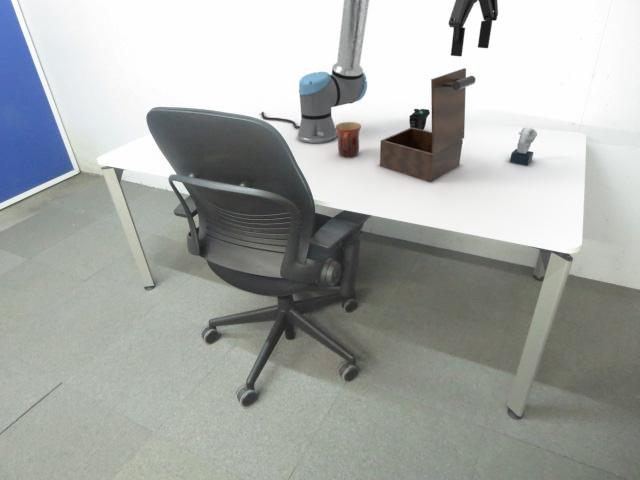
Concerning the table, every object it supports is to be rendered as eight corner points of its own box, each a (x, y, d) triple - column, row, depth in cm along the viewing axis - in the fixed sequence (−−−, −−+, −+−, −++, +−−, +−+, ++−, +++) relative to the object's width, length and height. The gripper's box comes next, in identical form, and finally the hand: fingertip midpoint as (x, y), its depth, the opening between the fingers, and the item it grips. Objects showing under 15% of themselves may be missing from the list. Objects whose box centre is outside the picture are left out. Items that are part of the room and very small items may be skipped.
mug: (338, 149, 156) (337, 121, 150) (362, 150, 154) (362, 122, 148) (332, 162, 146) (331, 133, 140) (358, 163, 144) (358, 133, 138)
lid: (431, 79, 115) (451, 79, 110) (463, 68, 124) (483, 67, 120) (431, 153, 124) (450, 155, 120) (462, 137, 134) (480, 139, 129)
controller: (406, 136, 163) (408, 110, 158) (419, 127, 172) (421, 102, 166) (416, 138, 161) (418, 112, 156) (429, 128, 170) (432, 103, 164)
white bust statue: (533, 159, 140) (541, 126, 134) (525, 167, 134) (533, 133, 129) (515, 155, 143) (522, 123, 137) (507, 163, 138) (514, 130, 132)
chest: (379, 166, 141) (380, 140, 136) (409, 151, 150) (411, 127, 146) (430, 182, 129) (432, 154, 124) (459, 165, 138) (462, 139, 133)
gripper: (470, -45, 91) (457, 61, 103) (522, -48, 105) (505, 45, 117) (439, -43, 96) (430, 58, 107) (493, -46, 110) (480, 43, 121)
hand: (469, 51), depth 112 cm, fingers open, 13 cm apart
